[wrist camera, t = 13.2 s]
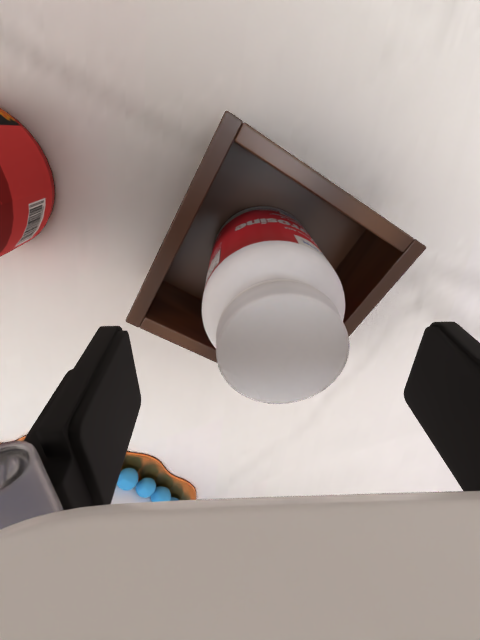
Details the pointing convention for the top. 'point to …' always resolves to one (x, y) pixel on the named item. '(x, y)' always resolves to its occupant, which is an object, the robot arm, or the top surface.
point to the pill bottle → (273, 308)
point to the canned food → (22, 185)
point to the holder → (272, 191)
